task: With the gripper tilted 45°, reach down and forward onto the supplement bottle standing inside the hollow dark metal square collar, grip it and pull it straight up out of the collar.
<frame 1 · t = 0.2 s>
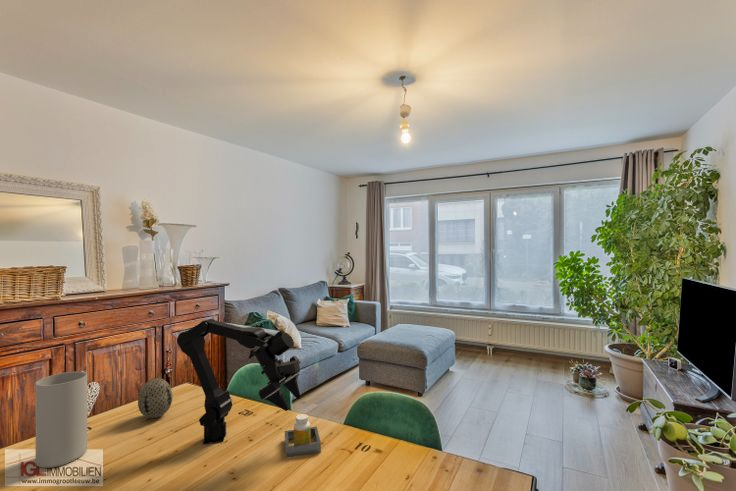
hand: (293, 404, 118), 15 cm above the table, tool tilted 35°, fingers open, 9 cm apart
collar: (302, 445, 119), on the table
cylinder vase: (62, 457, 114), on the table
supplement bottle: (302, 446, 119), resting in collar
decorative egg: (155, 417, 141), on the table
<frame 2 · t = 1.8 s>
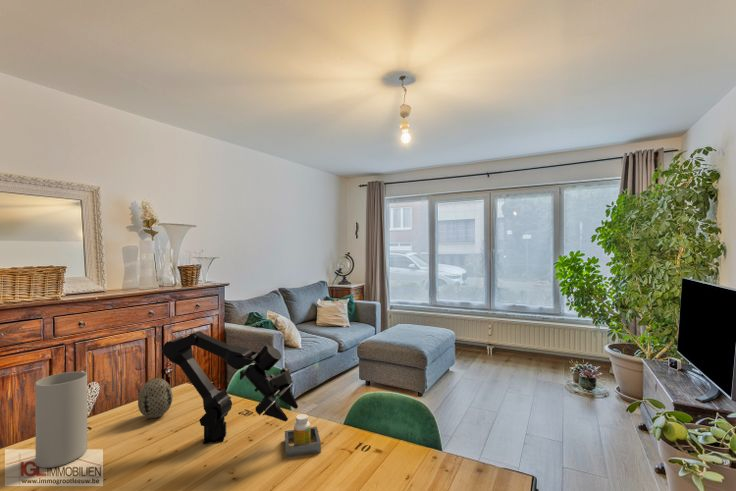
hand: (292, 413, 120), 10 cm above the table, tool tilted 45°, fingers open, 9 cm apart
nothing on the table moved.
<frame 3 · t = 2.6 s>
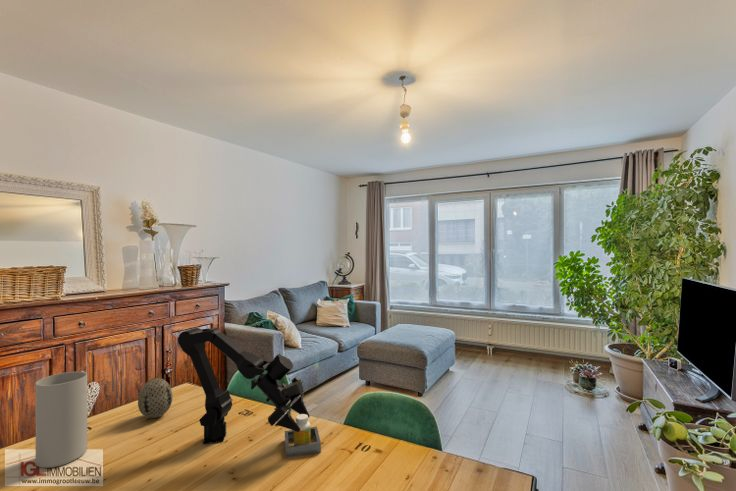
hand: (304, 423, 119), 7 cm above the table, tool tilted 45°, fingers open, 9 cm apart
nothing on the table moved.
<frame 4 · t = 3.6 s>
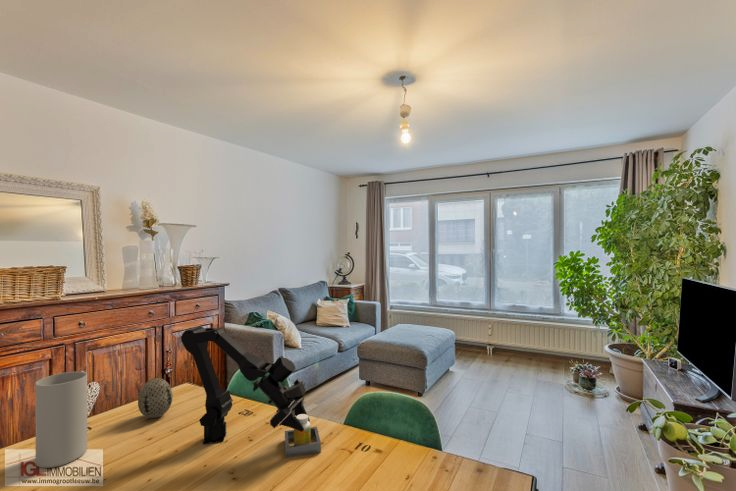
hand: (306, 426, 119), 7 cm above the table, tool tilted 45°, fingers closed on supplement bottle, 5 cm apart
supplement bottle: (302, 446, 119), resting in collar, touching gripper
everything else where it was.
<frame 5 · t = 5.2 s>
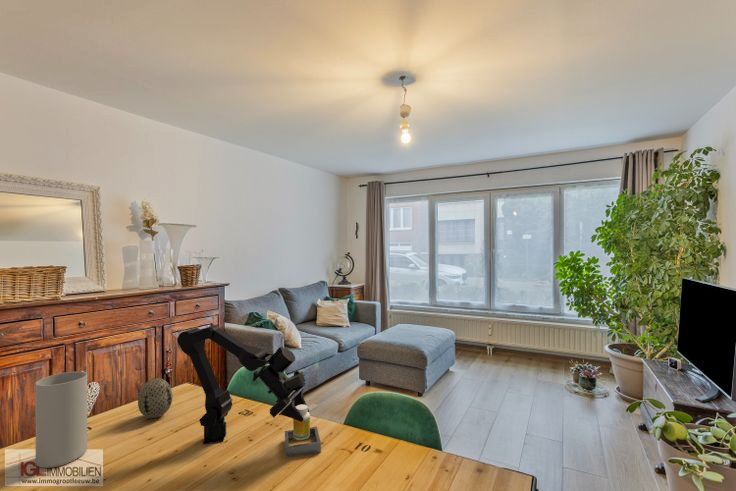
hand: (305, 416, 119), 10 cm above the table, tool tilted 45°, fingers closed on supplement bottle, 5 cm apart
supplement bottle: (301, 436, 120), point 3 cm above the table, touching gripper
everything else where it was.
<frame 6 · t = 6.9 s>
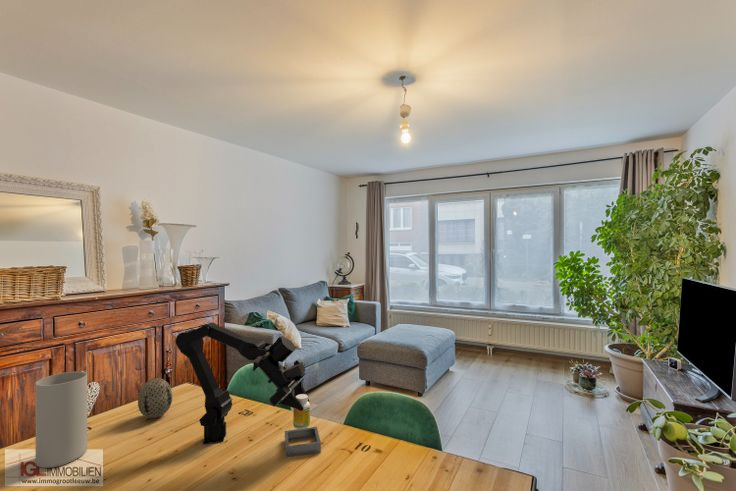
hand: (305, 406, 119), 13 cm above the table, tool tilted 45°, fingers closed on supplement bottle, 5 cm apart
supplement bottle: (301, 426, 120), point 6 cm above the table, touching gripper
everything else where it was.
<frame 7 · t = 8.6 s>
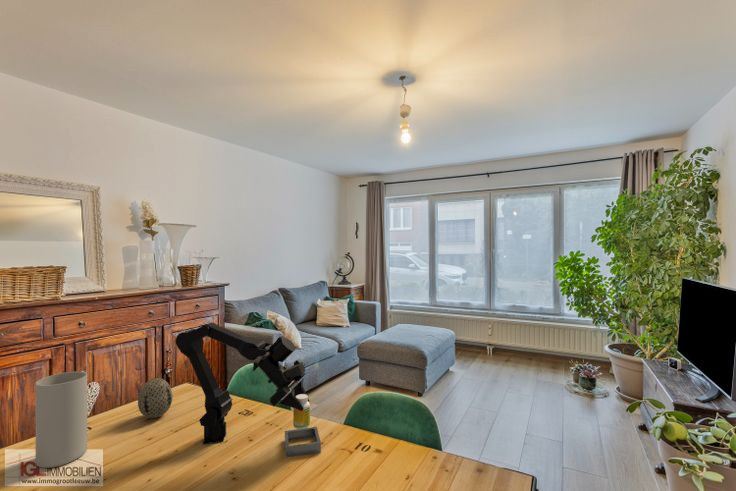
hand: (305, 406, 119), 13 cm above the table, tool tilted 45°, fingers closed on supplement bottle, 5 cm apart
supplement bottle: (301, 426, 120), point 6 cm above the table, touching gripper
everything else where it was.
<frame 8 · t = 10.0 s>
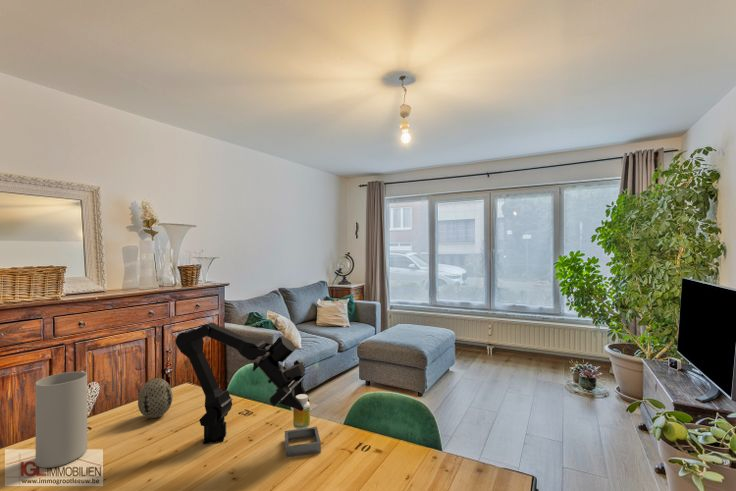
hand: (305, 406, 119), 13 cm above the table, tool tilted 45°, fingers closed on supplement bottle, 5 cm apart
supplement bottle: (301, 426, 120), point 6 cm above the table, touching gripper
everything else where it was.
at the end: the gripper is holding supplement bottle; supplement bottle point 6.4 cm above the table; supplement bottle 0.2 cm from the collar (horizontally) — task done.
